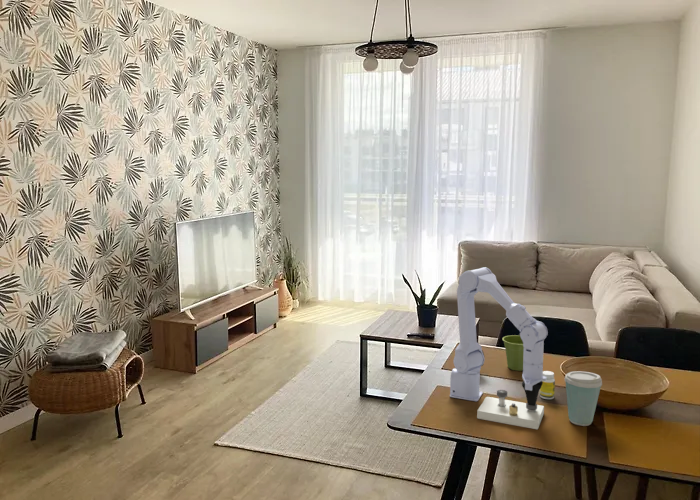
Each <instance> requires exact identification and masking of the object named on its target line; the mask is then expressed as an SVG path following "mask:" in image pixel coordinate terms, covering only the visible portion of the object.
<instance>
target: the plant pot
mask: <svg viewBox="0 0 700 500" xmlns="http://www.w3.org/2000/svg"><path fill="white" fill-rule="evenodd" d="M502 341H503V344H504V349H505V356H506V364H507V368H508V369H510V370H512V371H517V372H518V371H519V372H521V371H522V372H523V354H524V346H523V341H522V339H521V337H520V335H519V334H518V335H516V334H514V335H513V334H512V335H505V336H503V337H502Z"/></svg>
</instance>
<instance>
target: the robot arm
mask: <svg viewBox="0 0 700 500" xmlns="http://www.w3.org/2000/svg"><path fill="white" fill-rule="evenodd" d="M479 292H481V293H487V294H489V295H490V296H491V298H492V299H494V300H495V301H496V302H497V303H498V304H499V305H500V306H501V307H502V308H503V309H504V310H505V316H506V318H508V320H509V321H510V322H511V323H512V324H513V326H514V327H515V328H516V329H517V330H518V331H519V336H520V337H521V339H522V341H523V346H524V354H523V370H522V374H521V375H522V376H521V378H522V380H523V381H522V382H521V386H522V388H523V390H524V393H525V397H526V401H527V402H526V403H528V405H533V406H535V404H537V400H538V398H539V397H538V396H539V394H540V388H541V386H542V384H543V381H546V379H547V377H545V376H543V371H544V368H543V367H544V345H545V343H544V341H545V339H546V338H547V336H548V335H549V334H548V333H549V332H548V330H549V329H548V328H547V326H546V325H545V323H544V322H542V321H539V320H537V319H536V318H534V317H533V316H532V315H531V314H530V312H529V311H527V309H526V306H525V305H523V304H521V303H516V302H514V301H513V299H512V298H511V297H510V296H509V295H508V293H507V291H505V289H504V288H503V287H502V286H501V285H500V283H499V282H498V280H497V276H496V275H495V274H494V273H493V272H492V270H491V269H490V268H488V267H486V266H485V267H480V268H476V269H471V270H465V271H464V272H462V273H461V274H460V276H458V285H457V289H456V298H457V299H456V300H457V316H458V329H459V343H460V344H458V345H457V346H456V348H455V349H454V357H453V361H452V362H453V365H454V368H452V370H451V372H450V382H449V383H450V384H449V385H450V386H449V397H450V398H455V399H461V400H465V401H472V402H478V401H479V400H480V398H481V397H482V395H483V393H484V392H483V391H481V390H480V387H481V386H480V382H481V380H480V377H481V373H480V372H481V369H482V367H483V366H484V365H483V364H485V358H484V357H485V354H484V355H483V352H484V351H483V352H482V350H483V349H482V345H481V344H480V343H478V339H477V324H476V307H475V295H476V294H478V293H479ZM482 365H483V366H482Z"/></svg>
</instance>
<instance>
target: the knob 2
mask: <svg viewBox="0 0 700 500" xmlns="http://www.w3.org/2000/svg"><path fill="white" fill-rule="evenodd" d="M525 403H526V408H527V409H528V412H535V410H536V409H537V405H538V404H537V403H536V404H535V406H533V405H528V403H527V402H525Z"/></svg>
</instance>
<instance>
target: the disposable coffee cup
mask: <svg viewBox="0 0 700 500" xmlns="http://www.w3.org/2000/svg"><path fill="white" fill-rule="evenodd" d="M564 382H565V390H566V391H565V393H566V402H567V403H566V404H567V413H568V419H569V422H570V423H572V424H574V425H576V426H583V427H586V426H587V427H588V426H590V425H592V423H593V422H594V415H595V412H596V408H597V404H598V399H599V395H600V391H601V387H602V386H603V379H602V378H601V375H599V374H597V373H595V372H589V371H581V370H578V371H577V370H576V371H575V370H574V371H569V372H568V373H566V374H565V376H564Z"/></svg>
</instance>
